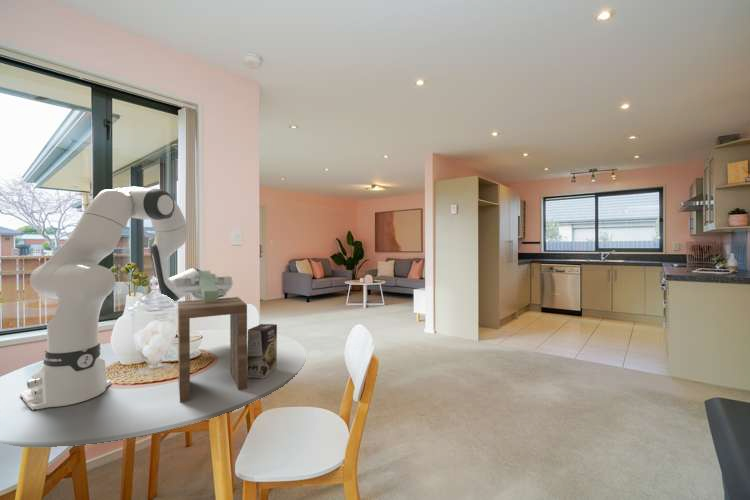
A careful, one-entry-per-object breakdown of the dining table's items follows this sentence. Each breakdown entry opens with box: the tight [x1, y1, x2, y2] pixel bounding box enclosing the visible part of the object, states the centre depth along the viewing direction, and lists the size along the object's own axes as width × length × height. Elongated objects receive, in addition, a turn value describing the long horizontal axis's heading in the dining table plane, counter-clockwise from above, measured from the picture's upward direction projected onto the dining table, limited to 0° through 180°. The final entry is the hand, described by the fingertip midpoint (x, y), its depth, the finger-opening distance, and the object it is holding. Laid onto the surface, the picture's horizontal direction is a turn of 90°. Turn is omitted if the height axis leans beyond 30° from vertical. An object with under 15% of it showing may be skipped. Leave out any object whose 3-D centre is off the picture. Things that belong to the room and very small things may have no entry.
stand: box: [177, 296, 248, 403], centre depth 107 cm, size 16×18×26 cm
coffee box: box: [247, 323, 278, 380], centre depth 117 cm, size 9×6×16 cm
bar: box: [198, 269, 219, 302], centre depth 120 cm, size 26×4×4 cm, turn 31°
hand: (205, 276), depth 126 cm, fingers closed on bar, 4 cm apart
